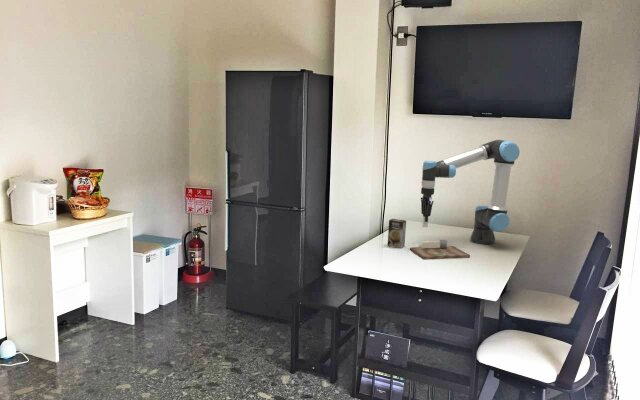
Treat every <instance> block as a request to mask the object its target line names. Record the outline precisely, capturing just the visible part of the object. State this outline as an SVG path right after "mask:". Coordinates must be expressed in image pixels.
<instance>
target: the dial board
mask: <svg viewBox="0 0 640 400" xmlns="http://www.w3.org/2000/svg"><path fill="white" fill-rule="evenodd" d="M409 251H410V252H412V253H413V254H415V255H416V256H418V257H419V258H420V259H422V260H440V259H441V260H442V259H443V260H444V259H447V260H448V259H469V258H470V257H471V255H470V254H469V253H467V252H465V251H464V250H462V249H460V248H458V247H456V246H454V245H447V248H446V249H441V248H422V246H420V247H419V246H414V247H412V246H411V247H409Z"/></svg>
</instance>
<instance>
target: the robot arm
mask: <svg viewBox="0 0 640 400" xmlns="http://www.w3.org/2000/svg"><path fill="white" fill-rule="evenodd" d="M520 151H521V150H520V147H519V146H518V144H517V143H516V142H513V141H511V140H503V139H495V140H491V141H488V142H486V143H484V144H481V145H479V146H478V147H477V148H474V149H472V150H468V151H466V152H465V151H464V152H463V153H459V154H456V155H454V156H451V157H448V158H445V159H442V160H439V161H434V160H424V162H423V165H422V177H421V182H420V183H421V188H420V194H421V195H422V197H420V201H421V204H420V206H421V207H420V209H421V215H422V228H428V226H429V217H431V214H432V211H433V210H432V209H433V204H434V200H432V199H433V198H432V197H433V195H435V186H436V178H437V179H439V178H446V179H447V178H448V179H450V178H451V179H453V178H455V176H456V175H457V169H458V168H461V167H464V166H467V165H471V164H473V163H476V162H478V161H482V160H484V161H487V160H491V159H492V160H493V164H494V165H495V169H494V177H493V183H492V190H491V198H490V205H477V206H476V207H475V211H474V222H473V223H474V224H473V230H472V232H471V235H470V237H469V238H470V239H469V240H470V242H471V243H475V244H480V245H494V244H495V243H496V237H495V232H503V231H504V230H506V229H507V228H508V227H509V225H510V217H509V215H508V208H507V207H506V203H507V197H508V190H509V183H510V176H511V169H512V167H513V166H515V162H516V160H518V158H519V157H520Z"/></svg>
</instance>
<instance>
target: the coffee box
mask: <svg viewBox="0 0 640 400" xmlns="http://www.w3.org/2000/svg"><path fill="white" fill-rule="evenodd" d="M406 228H407V220H405V219H397V218H391V219H389V220H388V234H387V236H388V237H387V247H389V248H391V247H392V248H396V249H403V248H404V247H405V246H406V245H405V243H406V234H407V233H406V232H407V229H406Z"/></svg>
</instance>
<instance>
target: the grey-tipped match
mask: <svg viewBox="0 0 640 400" xmlns="http://www.w3.org/2000/svg"><path fill="white" fill-rule="evenodd" d="M447 246H448V240H446V239H439V240H430V241H422V242H421V247H422V248H441V249H446V248H447Z"/></svg>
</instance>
